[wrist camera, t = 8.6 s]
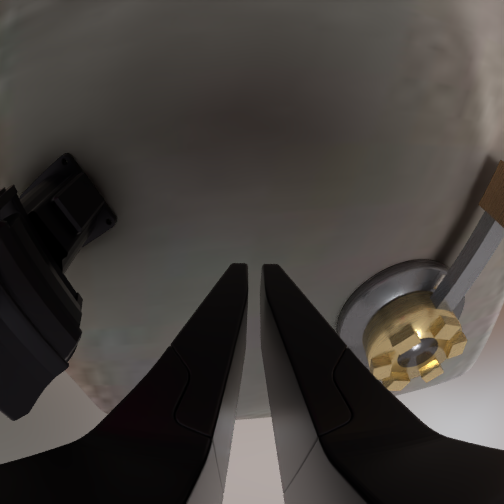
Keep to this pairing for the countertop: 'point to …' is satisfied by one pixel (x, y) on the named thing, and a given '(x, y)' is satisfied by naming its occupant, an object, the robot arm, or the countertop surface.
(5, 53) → the countertop surface
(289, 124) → the countertop surface
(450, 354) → the crank handle
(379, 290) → the flange
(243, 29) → the countertop surface
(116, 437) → the robot arm
